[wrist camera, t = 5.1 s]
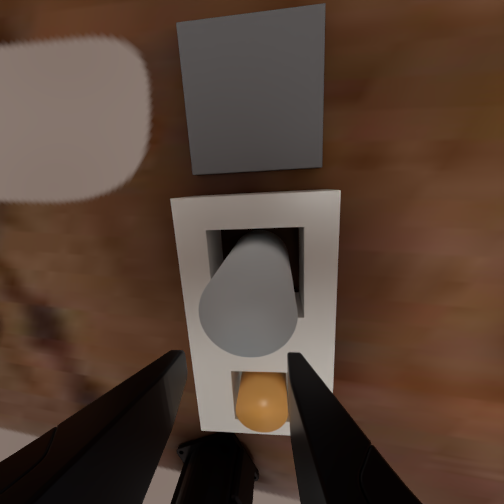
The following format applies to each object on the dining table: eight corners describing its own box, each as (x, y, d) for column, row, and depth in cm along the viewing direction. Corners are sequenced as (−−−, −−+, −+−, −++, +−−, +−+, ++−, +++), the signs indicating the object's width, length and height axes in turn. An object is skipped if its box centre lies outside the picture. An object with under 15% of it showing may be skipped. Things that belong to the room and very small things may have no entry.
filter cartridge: (248, 291, 20) (227, 369, 12) (223, 244, 20) (180, 292, 11) (297, 270, 19) (313, 337, 11) (273, 220, 19) (270, 250, 10)
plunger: (244, 386, 21) (237, 431, 18) (241, 351, 20) (233, 389, 17) (286, 388, 21) (288, 433, 17) (285, 351, 20) (287, 391, 16)
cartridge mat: (196, 175, 18) (192, 174, 18) (180, 30, 16) (176, 22, 15) (320, 167, 17) (322, 166, 17) (322, 12, 15) (325, 3, 14)
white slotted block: (213, 390, 23) (201, 430, 20) (192, 196, 19) (170, 198, 15) (321, 394, 22) (331, 437, 18) (326, 189, 18) (340, 190, 14)
